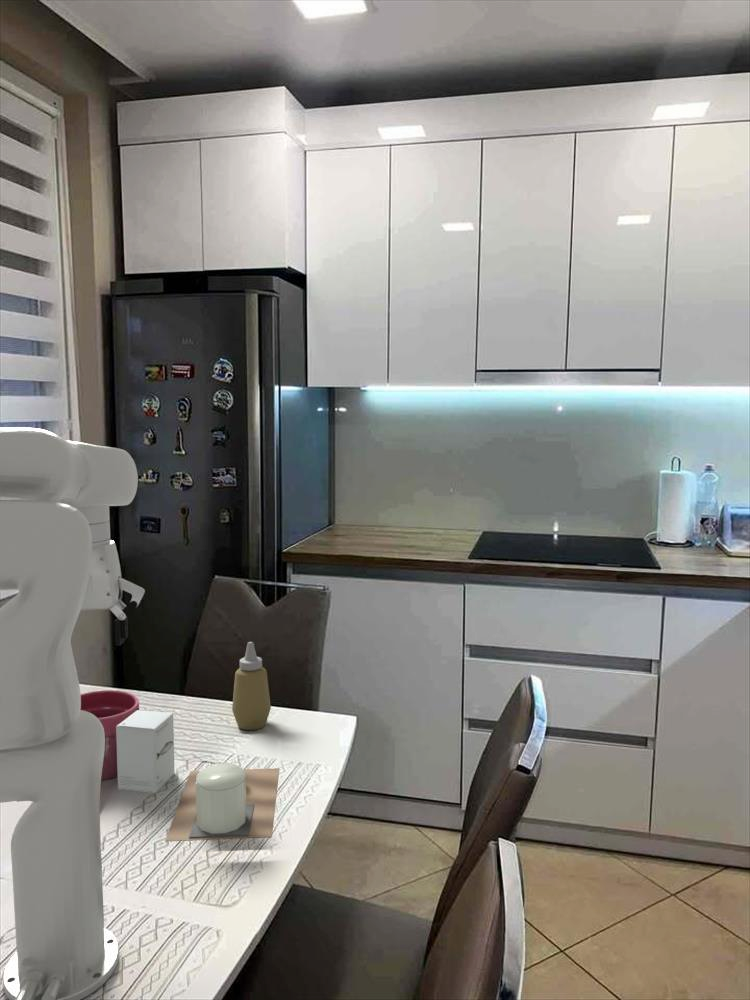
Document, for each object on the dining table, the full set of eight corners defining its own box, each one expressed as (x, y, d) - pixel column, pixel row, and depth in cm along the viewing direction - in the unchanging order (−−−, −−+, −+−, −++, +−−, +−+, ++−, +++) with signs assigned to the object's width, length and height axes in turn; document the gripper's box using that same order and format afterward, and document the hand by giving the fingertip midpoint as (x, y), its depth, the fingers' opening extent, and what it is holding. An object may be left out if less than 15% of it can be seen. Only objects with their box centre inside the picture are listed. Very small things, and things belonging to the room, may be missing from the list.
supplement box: (156, 800, 125) (154, 729, 124) (116, 795, 127) (114, 725, 125) (176, 779, 133) (174, 712, 131) (138, 775, 134) (136, 708, 133)
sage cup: (243, 832, 113) (242, 786, 112) (193, 834, 113) (192, 787, 112) (247, 806, 121) (247, 763, 120) (201, 808, 120) (200, 764, 119)
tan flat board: (271, 844, 113) (271, 835, 112) (165, 848, 111) (164, 839, 111) (279, 774, 134) (279, 767, 134) (190, 777, 133) (190, 770, 133)
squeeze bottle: (225, 730, 153) (223, 646, 151) (243, 715, 161) (242, 635, 159) (260, 735, 151) (259, 650, 149) (277, 720, 158) (276, 638, 156)
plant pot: (156, 759, 140) (154, 694, 139) (106, 795, 127) (103, 724, 125) (95, 747, 145) (93, 685, 143) (41, 780, 132) (37, 712, 130)
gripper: (14, 538, 107) (20, 652, 109) (136, 537, 108) (139, 650, 110) (34, 530, 114) (39, 637, 116) (147, 529, 115) (151, 635, 117)
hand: (88, 643), depth 113 cm, fingers open, 9 cm apart
